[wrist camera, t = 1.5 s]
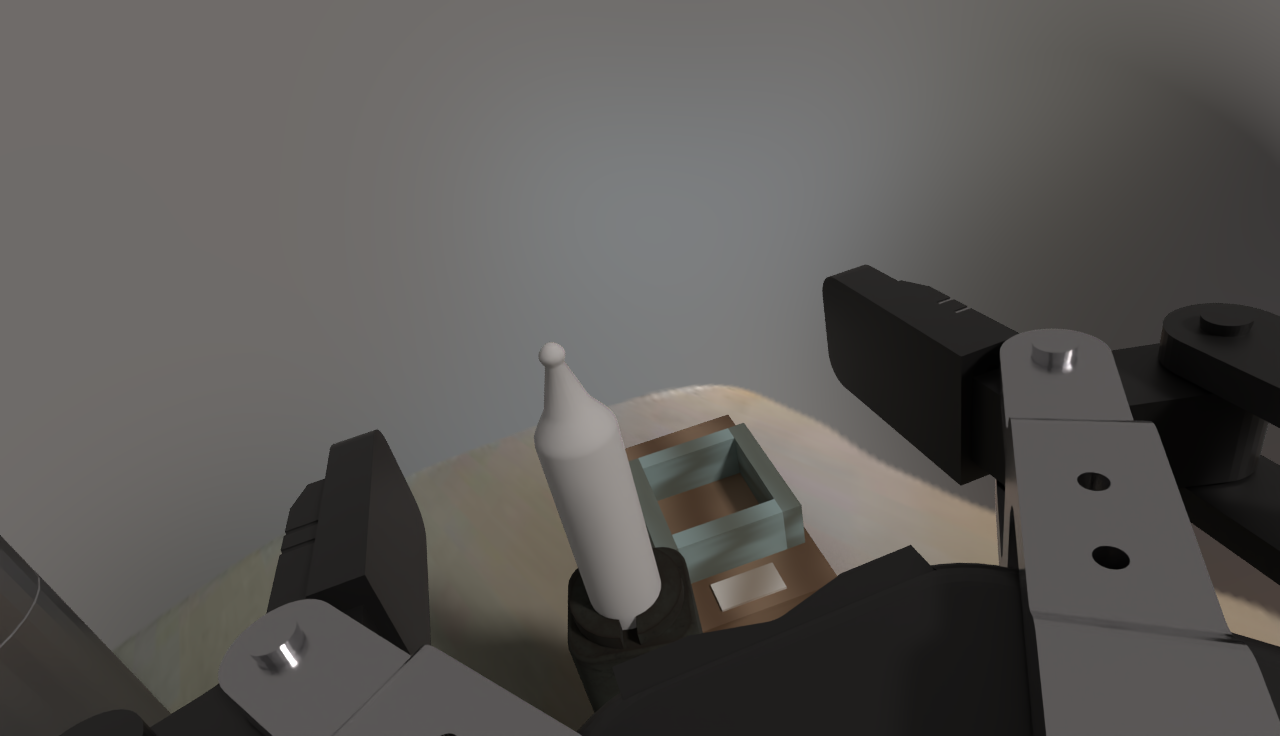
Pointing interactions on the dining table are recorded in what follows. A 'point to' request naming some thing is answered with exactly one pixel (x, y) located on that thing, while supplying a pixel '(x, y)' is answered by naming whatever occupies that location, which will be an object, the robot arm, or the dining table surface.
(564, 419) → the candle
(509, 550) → the dining table surface
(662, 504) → the socket board
